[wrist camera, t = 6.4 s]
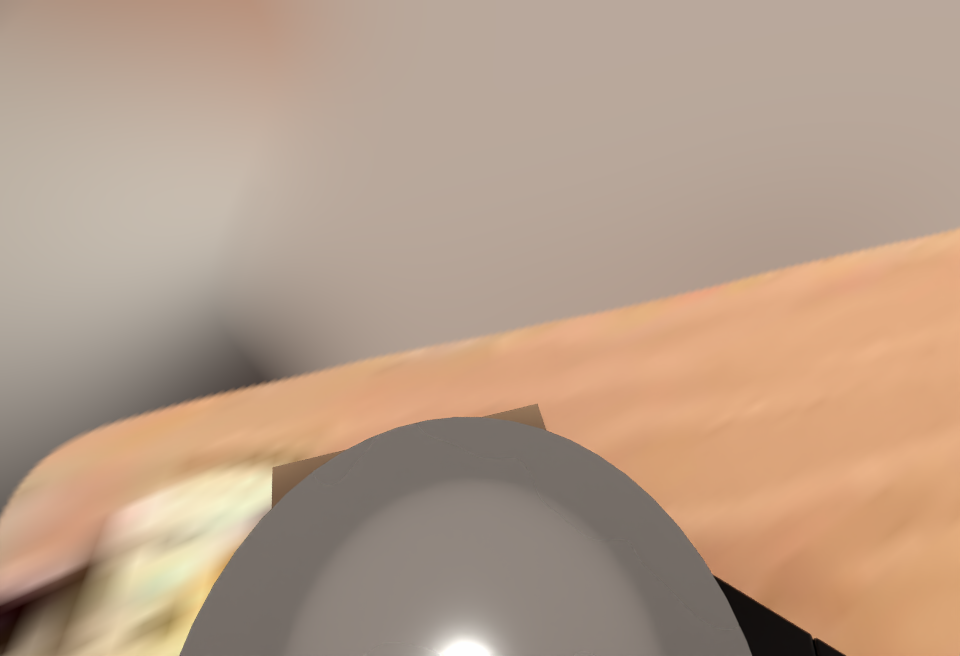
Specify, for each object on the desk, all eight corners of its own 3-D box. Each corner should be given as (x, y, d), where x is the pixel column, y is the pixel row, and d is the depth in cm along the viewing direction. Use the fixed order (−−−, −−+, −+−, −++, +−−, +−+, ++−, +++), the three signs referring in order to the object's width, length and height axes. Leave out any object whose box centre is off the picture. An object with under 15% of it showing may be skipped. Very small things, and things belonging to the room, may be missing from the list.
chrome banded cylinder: (614, 695, 12) (979, 960, 3) (442, 804, 11) (138, 1765, 2) (525, 514, 15) (566, 346, 5) (379, 590, 14) (125, 541, 4)
